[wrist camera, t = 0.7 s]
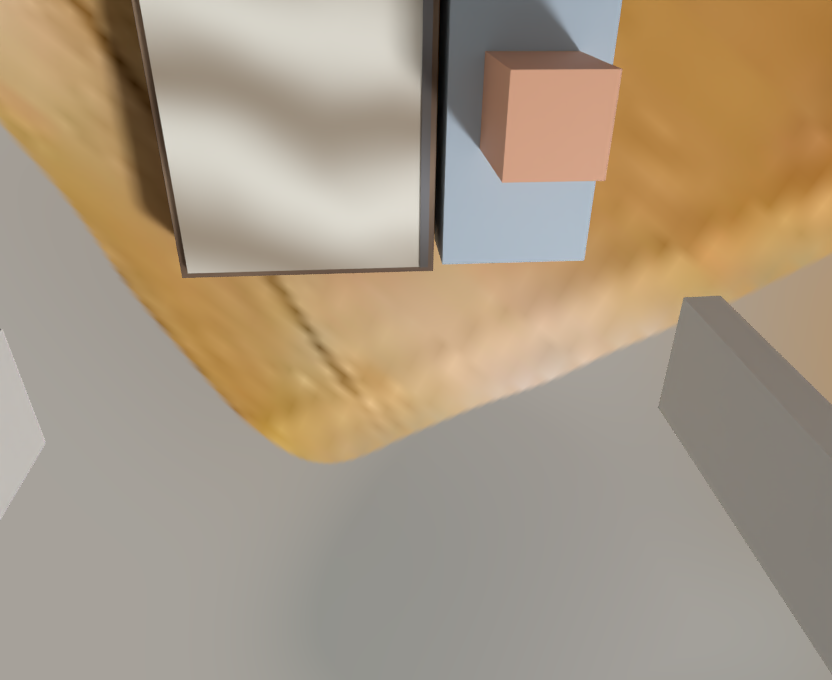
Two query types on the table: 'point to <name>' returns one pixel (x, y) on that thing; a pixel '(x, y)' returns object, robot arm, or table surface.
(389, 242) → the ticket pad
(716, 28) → the table surface
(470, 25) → the blue base with cube
